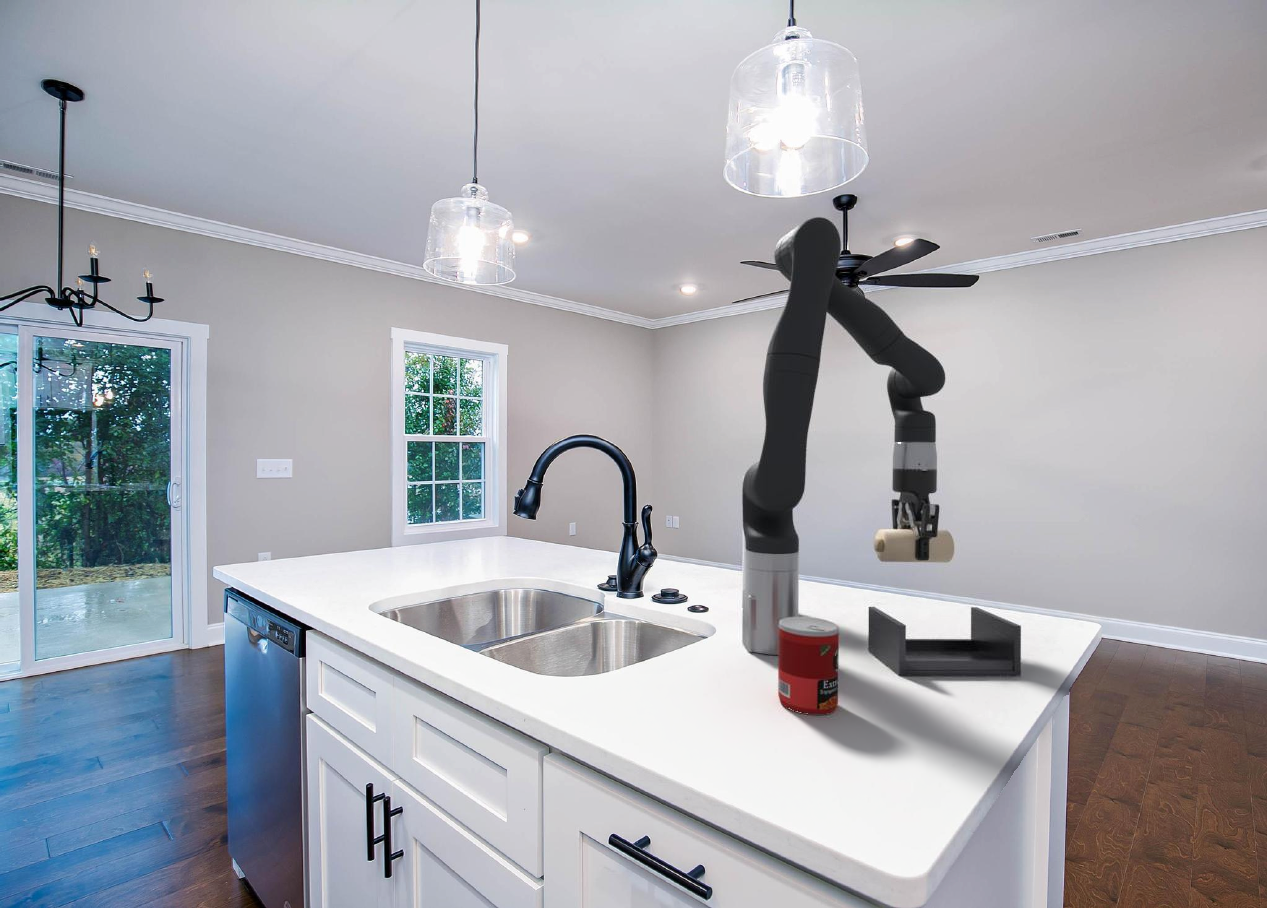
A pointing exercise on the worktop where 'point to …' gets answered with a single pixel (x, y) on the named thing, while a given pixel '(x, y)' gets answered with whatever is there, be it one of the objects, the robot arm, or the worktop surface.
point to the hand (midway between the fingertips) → (913, 557)
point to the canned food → (808, 664)
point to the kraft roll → (911, 546)
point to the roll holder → (948, 648)
